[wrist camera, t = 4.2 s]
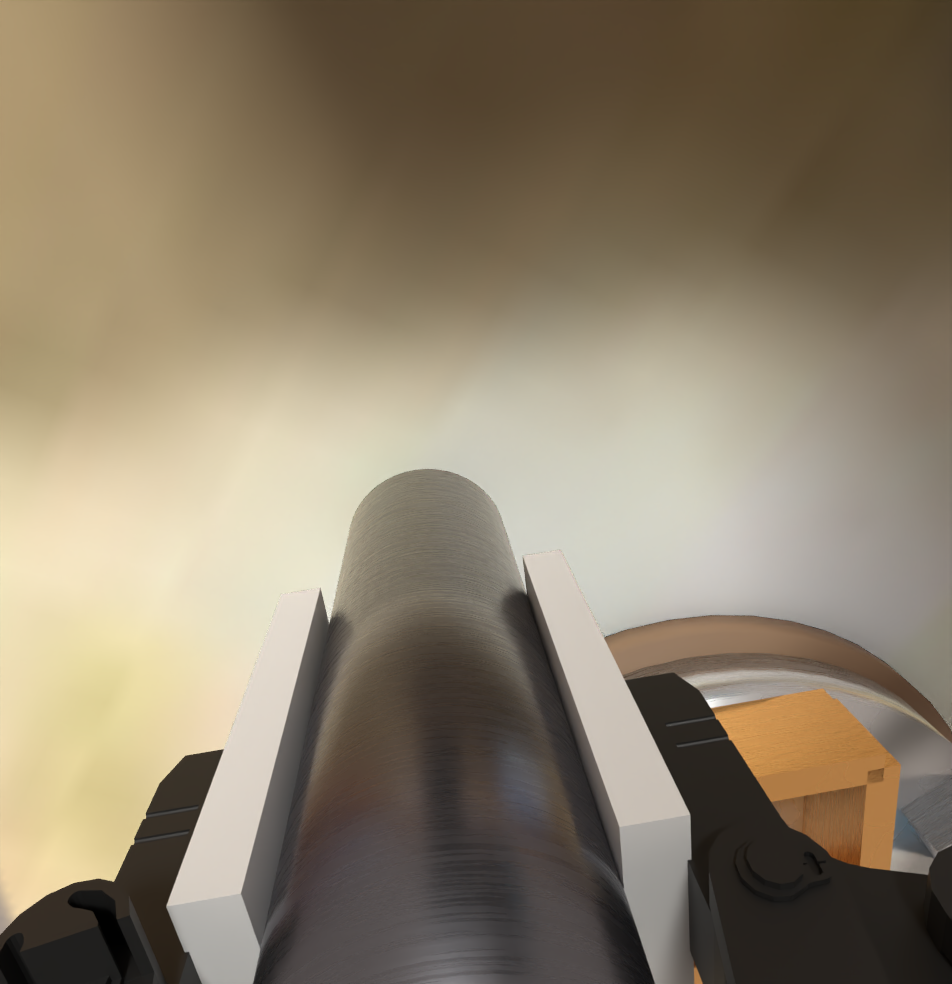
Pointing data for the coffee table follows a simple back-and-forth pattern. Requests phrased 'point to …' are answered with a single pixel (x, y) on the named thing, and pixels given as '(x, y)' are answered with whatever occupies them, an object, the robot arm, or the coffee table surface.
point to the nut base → (759, 650)
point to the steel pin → (441, 775)
